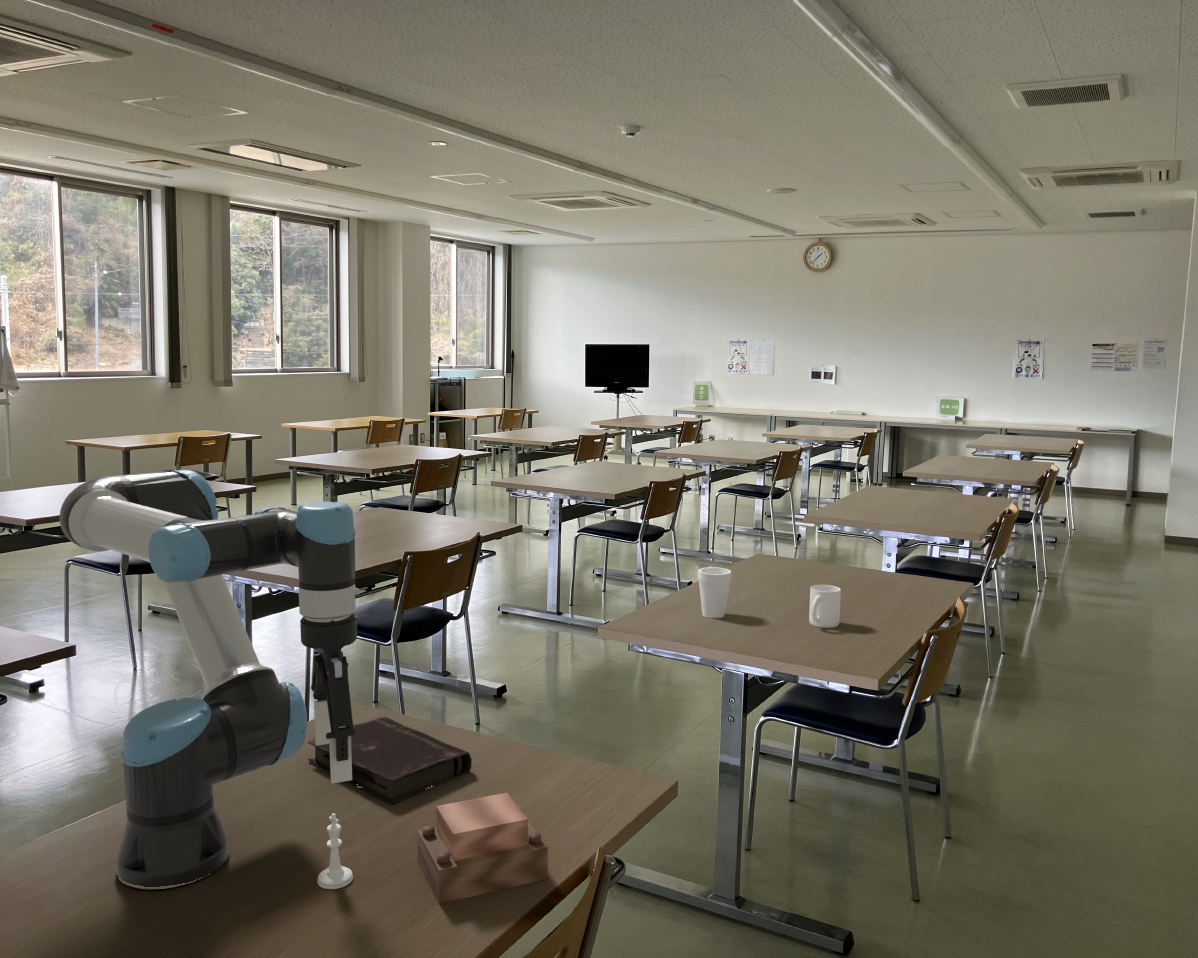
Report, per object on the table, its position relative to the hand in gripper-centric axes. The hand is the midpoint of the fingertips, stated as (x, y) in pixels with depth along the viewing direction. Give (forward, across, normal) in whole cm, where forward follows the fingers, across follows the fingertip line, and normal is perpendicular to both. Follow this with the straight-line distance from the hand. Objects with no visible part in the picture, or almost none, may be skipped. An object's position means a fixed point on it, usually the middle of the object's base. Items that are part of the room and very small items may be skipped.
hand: (333, 761), depth 136 cm
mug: (+18, +78, -145) cm, 166 cm away
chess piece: (+18, 0, 0) cm, 18 cm away
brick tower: (+18, -6, -20) cm, 27 cm away
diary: (+18, +34, -15) cm, 42 cm away
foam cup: (+18, +98, -123) cm, 158 cm away
